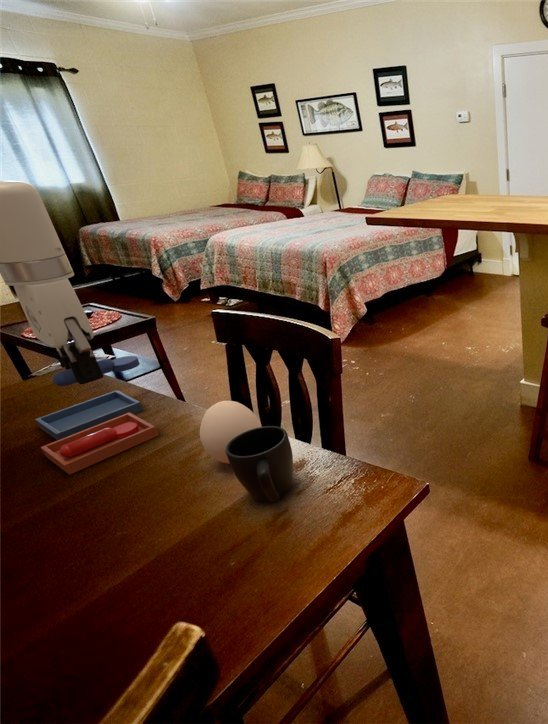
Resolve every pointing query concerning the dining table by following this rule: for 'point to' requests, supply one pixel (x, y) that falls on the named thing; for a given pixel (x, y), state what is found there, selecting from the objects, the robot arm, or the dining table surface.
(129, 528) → the dining table surface
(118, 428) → the red spoon
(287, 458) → the mug
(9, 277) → the robot arm
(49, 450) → the terracotta tray
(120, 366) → the blue spoon
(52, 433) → the blue tray
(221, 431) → the egg
